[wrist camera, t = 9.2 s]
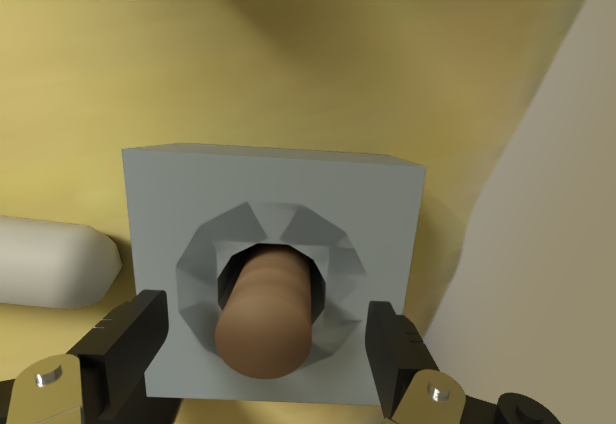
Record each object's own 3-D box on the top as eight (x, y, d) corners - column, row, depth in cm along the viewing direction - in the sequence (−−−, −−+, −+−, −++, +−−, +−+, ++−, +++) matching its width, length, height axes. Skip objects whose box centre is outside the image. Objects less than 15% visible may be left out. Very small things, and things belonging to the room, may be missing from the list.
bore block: (182, 142, 18) (121, 149, 12) (386, 155, 18) (426, 166, 12) (191, 321, 21) (146, 396, 15) (364, 329, 21) (387, 406, 15)
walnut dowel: (256, 217, 19) (213, 294, 10) (311, 220, 19) (314, 299, 10) (256, 267, 20) (216, 377, 11) (308, 270, 20) (309, 381, 11)
